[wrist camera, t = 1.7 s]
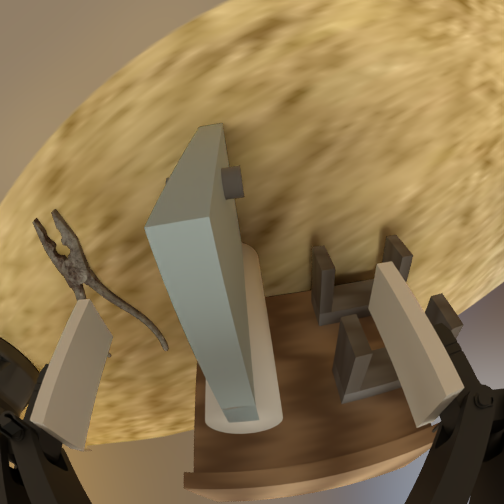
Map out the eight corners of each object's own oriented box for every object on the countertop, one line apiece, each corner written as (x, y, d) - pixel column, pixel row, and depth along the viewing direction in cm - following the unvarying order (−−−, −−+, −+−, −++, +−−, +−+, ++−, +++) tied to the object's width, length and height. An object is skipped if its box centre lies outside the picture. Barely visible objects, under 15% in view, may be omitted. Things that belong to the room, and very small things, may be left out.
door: (216, 283, 26) (214, 435, 14) (181, 130, 18) (102, 235, 7) (261, 277, 26) (283, 429, 14) (240, 120, 18) (261, 209, 7)
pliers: (117, 365, 32) (3, 250, 21) (118, 360, 33) (7, 246, 22) (176, 349, 30) (50, 206, 19) (176, 343, 31) (55, 201, 20)
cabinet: (214, 356, 32) (216, 501, 18) (179, 255, 24) (146, 470, 10) (367, 332, 32) (416, 461, 18) (388, 226, 24) (501, 389, 9)
